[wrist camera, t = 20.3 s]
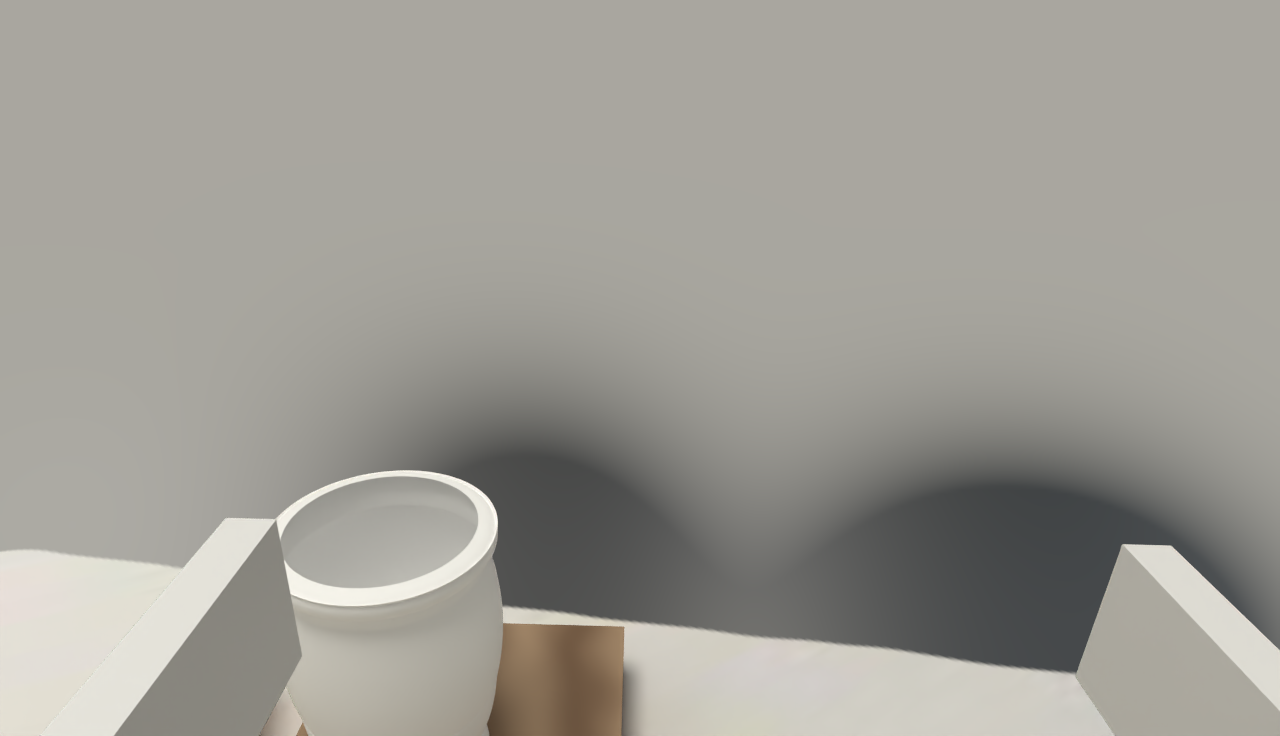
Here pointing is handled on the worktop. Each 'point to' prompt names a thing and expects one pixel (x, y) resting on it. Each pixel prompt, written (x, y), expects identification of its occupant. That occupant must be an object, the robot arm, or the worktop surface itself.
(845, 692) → the worktop surface
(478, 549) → the jar
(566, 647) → the walnut slab
